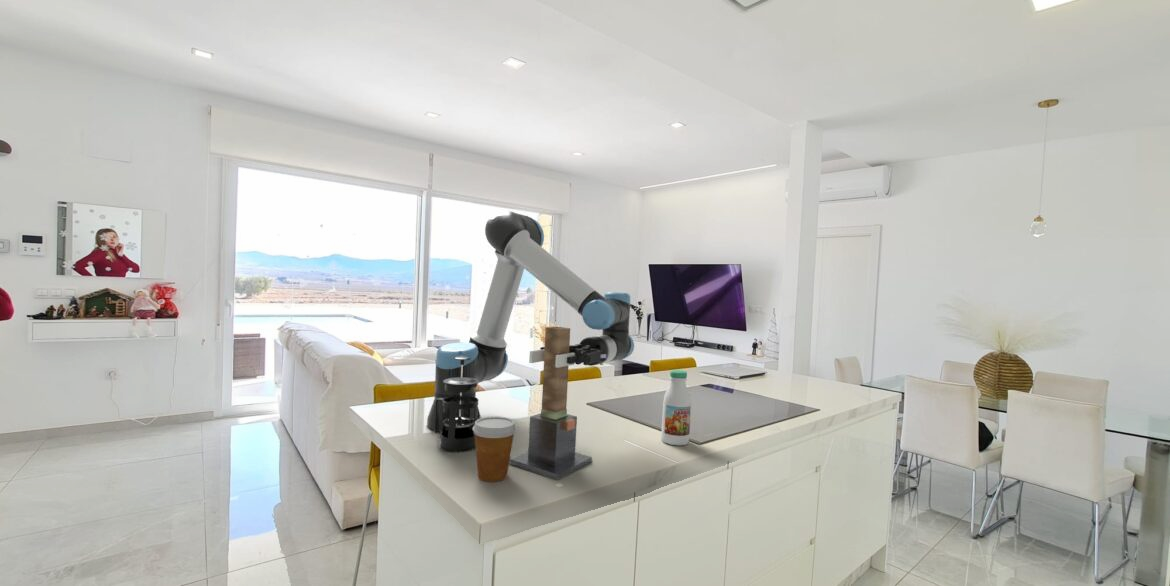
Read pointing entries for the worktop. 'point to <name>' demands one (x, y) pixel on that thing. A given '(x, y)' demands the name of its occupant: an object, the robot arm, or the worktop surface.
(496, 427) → the disposable coffee cup
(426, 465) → the worktop surface
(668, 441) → the milk bottle
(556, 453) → the stand
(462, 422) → the french press
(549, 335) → the post
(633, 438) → the worktop surface
